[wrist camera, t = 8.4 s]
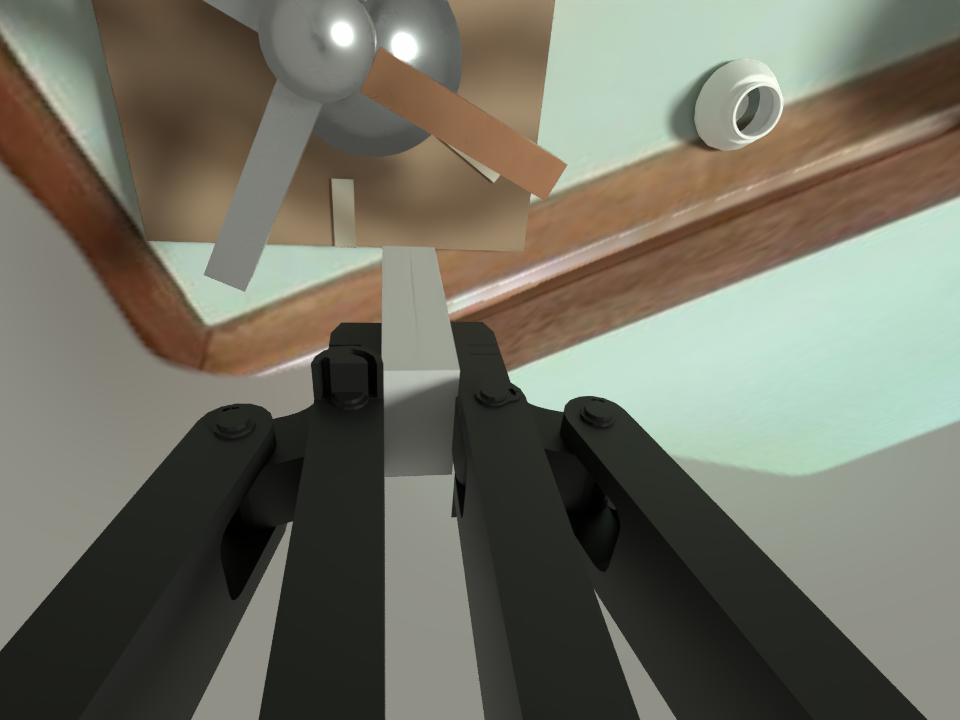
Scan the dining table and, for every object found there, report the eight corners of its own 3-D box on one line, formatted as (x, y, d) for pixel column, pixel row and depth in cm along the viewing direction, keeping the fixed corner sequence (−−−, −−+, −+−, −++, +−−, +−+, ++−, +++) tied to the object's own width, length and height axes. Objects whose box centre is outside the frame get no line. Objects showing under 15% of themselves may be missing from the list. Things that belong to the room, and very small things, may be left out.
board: (36, -316, 22) (12, -339, 20) (574, -221, 25) (585, -235, 24) (156, 232, 33) (145, 241, 32) (518, 243, 37) (524, 252, 35)
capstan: (37, 126, 28) (-96, 167, 20) (162, -467, 19) (16, -790, 12) (428, 305, 36) (441, 383, 28) (637, -57, 27) (736, -87, 20)
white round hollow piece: (776, 53, 33) (696, 64, 33) (808, 56, 31) (722, 67, 30) (762, 142, 36) (687, 152, 35) (790, 151, 33) (710, 163, 33)
